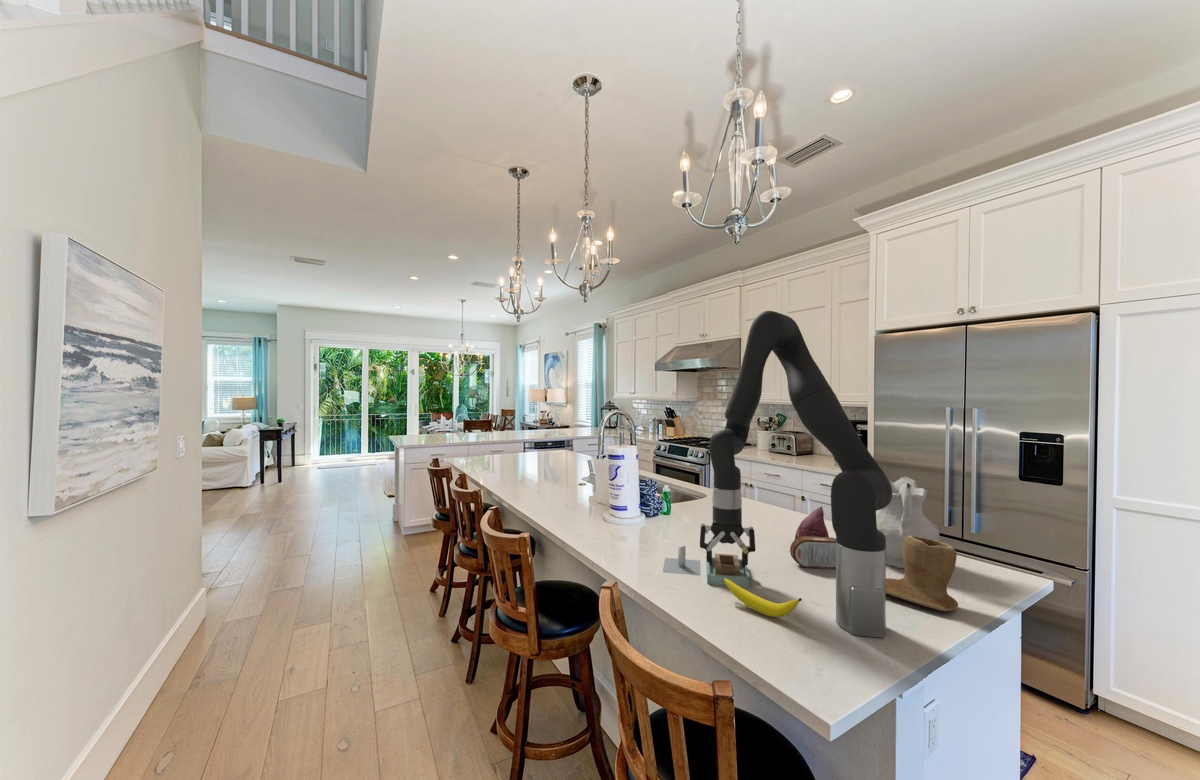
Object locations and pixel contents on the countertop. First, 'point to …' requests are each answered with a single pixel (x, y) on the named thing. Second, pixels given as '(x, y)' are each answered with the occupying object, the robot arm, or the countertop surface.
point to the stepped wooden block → (727, 565)
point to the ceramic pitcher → (904, 519)
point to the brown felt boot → (925, 574)
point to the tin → (814, 552)
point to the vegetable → (813, 525)
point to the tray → (740, 580)
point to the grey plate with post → (681, 564)
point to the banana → (761, 602)
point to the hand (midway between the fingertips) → (727, 565)
